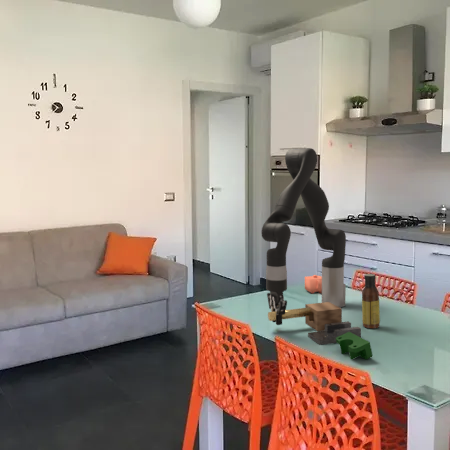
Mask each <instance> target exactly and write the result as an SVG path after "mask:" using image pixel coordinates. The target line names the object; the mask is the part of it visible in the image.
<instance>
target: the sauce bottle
mask: <svg viewBox="0 0 450 450" xmlns="http://www.w3.org/2000/svg"><path fill="white" fill-rule="evenodd" d="M363 276H364V277H363V278H364V287H363V289H362V290H361V296H362V297H361V310H362V311H361V312H362V314H361V316H362V320H361V321H362V325H363V327H364V328H366V329H372V330H375V329H379V327H380V323H381V320H380V317H381V316H380V297H379V295H380V293H379V290H378V289H377V286H376V285H377V284H376V278H377V277H376V274H374V273H365V274H364V275H363Z"/></svg>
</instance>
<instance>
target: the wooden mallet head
mask: <svg viewBox="0 0 450 450" xmlns="http://www.w3.org/2000/svg"><path fill="white" fill-rule="evenodd" d="M304 306H305V307H304V308H308V307H309V308H310V309H311V316H306V317H304V318H305V320H304V321H305V325H307V326H309V327H310V328H312V329H314V331H315V332H318V331H325V324H330V323H339V322H343V317H342V315H343V307H338V306H336V305H334V304H332V303H330V302H324V303H322V302H316V303H307V304H305V305H304Z"/></svg>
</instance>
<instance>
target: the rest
mask: <svg viewBox="0 0 450 450" xmlns="http://www.w3.org/2000/svg"><path fill="white" fill-rule="evenodd" d="M348 332H351V333H353V334H355V335H357V336H359V337H361V338H362V328H361V327H360V326H353V327H352V322H350V321H342V322H339V323H330V324H325V330H323V331H310V332H307V337H308V338H309V339H311V341H313V342H315V344H316V343H317V345H319V346H322V345H331V344H332V345H333V344H337V342H336V337H338V336H341V335H343V334H345V333H348Z"/></svg>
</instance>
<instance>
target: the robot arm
mask: <svg viewBox="0 0 450 450" xmlns="http://www.w3.org/2000/svg"><path fill="white" fill-rule="evenodd" d="M284 162H285V165H286V169H287V171H288V172H289V174H290V176H291V178H292V181H291V182H290V183H289V184H288V185H287V186H286V187H285V188H284V189H283V190H282V191H281V193H280V195H279V196H278V199H277V201H276V204H275V207H274V209H273V211H272V212H271V213H270V214H269V216H268V218H267V219H266V220H265V221H264V223H263V225H262V227H261V237H262V239H263V241H266V242H271V243H276V246H275V247H273V248H269V249H267V251H266V269H265V273H266V274H265V280H266V282H265V283H266V284H265V286H266V287H265V288H266V290H267V293H266V296H267V297H266V298H267V302H268V308H269V310H270V312H274V311H276V320H274V321H272V323H275V324H276V325H277V326H281V325H283V319H282V315H283V314H285V311H286V310H287V305H288V300H286V299H285V298H284V292H286V291H287V289H288V277H287V276H288V270H287V251H288V249H289V248H288V247H289V244H290V241H291V235H292V233H291V228H290V226H289V225H288V224H287V223H284V222H288V221H290V220H291V219H292V218H293V215H294V212H295V209H296V206H297V203H298V202H299V200H300V197H301V198H302V199H301V200H302V202H303V205H304V207H305V210H306V212H307V214H308V216H309V219H310V221H311V224H312V227H313V230H314V235H315V237H316V242H317V244H318V246H319V248H320V249H322V250H324V251H332V255H331V256H329V257H325V258H323V259H321V277H322V293H321V303H324V302H330V303H332V304H334V305H336V306H338V307H340V308H343V307H346V296H347V295H346V292H347V291H346V290H347V289H346V284H345V283H344V280H345V279H344V278H345V258H346V245H347V236H346V233H345V232H346V231H344V230H343V229H336V228H328V227H327V225H326V222H325V221H326V220H325V219H326V218H327V215H328V213H329V209H330V204H329V201H328V198H327V195H326V193H325V191H324V190H323V189H322V187H320V185H318V183H316V182H315V181H314V180H312V178H311V177H312V175H313V173H315V172H314V171H315V169H316V167H317V164H318V154H317V152H316V150H315V149H314V148H311V147H303V148H302V147H300V148H299V147H298V148H290V149H288V150H287V151H286V152H285V155H284Z"/></svg>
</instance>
